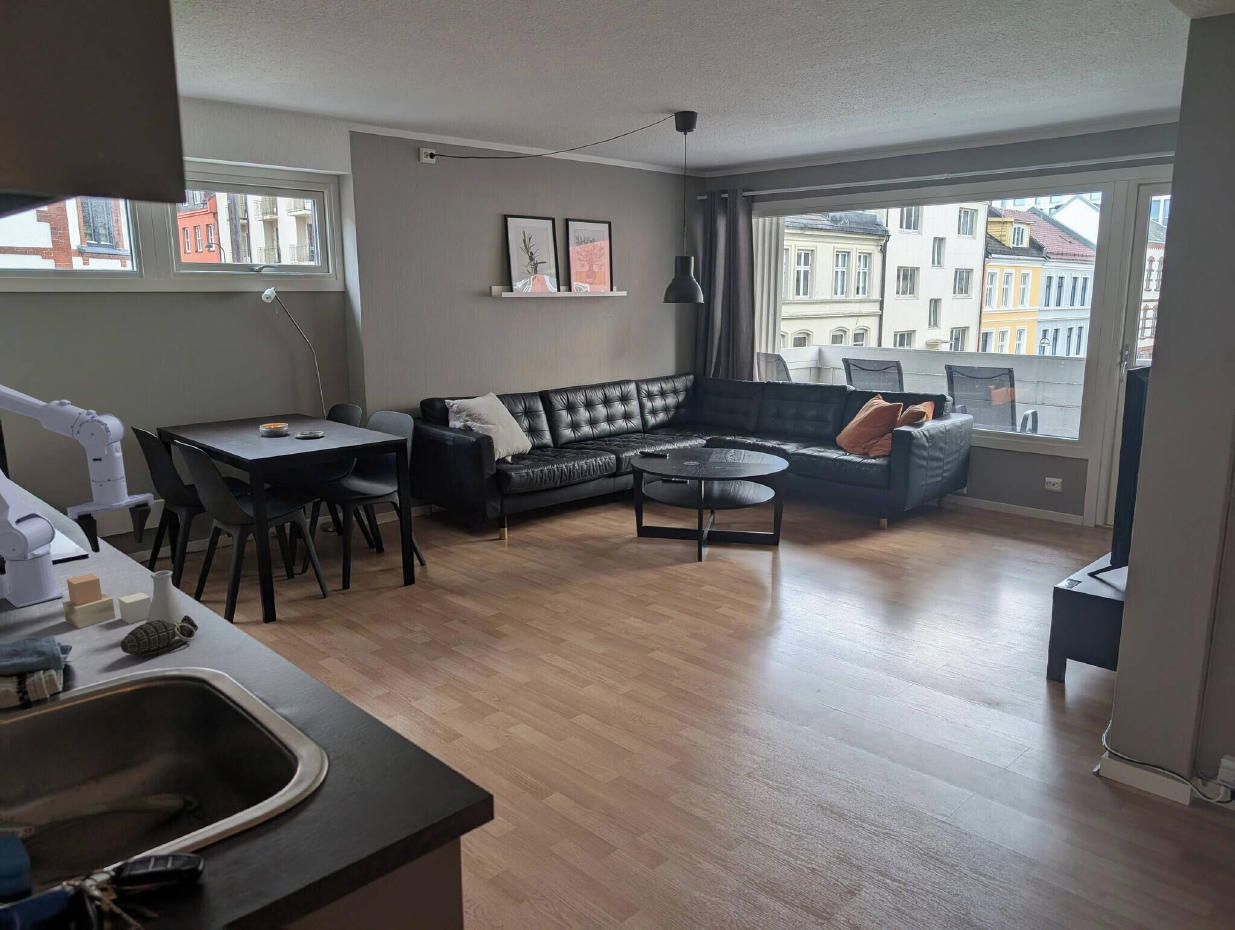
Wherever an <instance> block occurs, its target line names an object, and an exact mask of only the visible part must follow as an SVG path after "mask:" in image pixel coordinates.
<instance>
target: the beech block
mask: <svg viewBox="0 0 1235 930" xmlns="http://www.w3.org/2000/svg"><path fill="white" fill-rule="evenodd" d="M101 595H102V599H101V600H97V601H93V602H89V603H85V604H81V605H76V604H75V603H73V602H72V601H70V599H67V600H63V601H62V607H63V613H64V619H65V620H64V621H65V622H66V623H68V624H70V625H72V626H73V627H76V628H78V629H83V628H87V627H90V626H93V625H96V624H100V623H102V622H103V623H104V622H106V621H110V620H114V619H116V613H115V606H114V598H112V597H111V596H109V595H106V594H104V593H102V592H101Z"/></svg>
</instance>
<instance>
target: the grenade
mask: <svg viewBox="0 0 1235 930" xmlns="http://www.w3.org/2000/svg"><path fill="white" fill-rule="evenodd" d="M198 629H199V626H198V625H197V623H196V622H195V621H194V619H193V618H192V617H191V616H190V615H189V616H187V615H186V616H184V617H183V619H182V620H181V623H176V624H175V623H169V622H166V621H165V620H156V621H150V622H147V623H146V622H144V623H142V624H140V625H138V626H136V627H135V628H134V629H132V630H131V631H130V632H128V633H127V635H125V636H124V638H122V640H121V642H120V649H121V650H122V652H123V653H126V654H127V655H128V654H129V655H134V656H141V657H140V660H142V659H146V658H150V657H154V656H155V657H156V656H158V655H162V654H165V653H168V652H169V651H172V650H174V649H177V648H178V647H180V646H182V645H184V644H186V642H187V643H188V642H192V641H193V640H195V638H196V636H197V633H196V632H197V630H198ZM176 638H178V639H180V640H182V641H180V642H179V643H177V644H176V643H175V644H174V645H173V642H174V641H175V639H176ZM171 645H172V646H171ZM176 647H177V648H176ZM171 649H172V650H171ZM164 652H165V653H164Z"/></svg>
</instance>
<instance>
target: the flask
mask: <svg viewBox="0 0 1235 930" xmlns="http://www.w3.org/2000/svg"><path fill="white" fill-rule="evenodd" d="M172 575H173V571H171V570H158V571H155V572H153V573H152V574H150V578H151V579H152V581H153V582H152V583H153V596H152V598H151V607H150V611H149V614H148V618H147V619H146V622H145V623H147V622H150V621H156V620H165V621H166V622H169V623H175V624H176V623H181V620H182V619H183V617H184V616H186V615H187V616H190V614H189V613H188V611H187V610H186V608H185V606H184V605H183V604H182V602H181V600H180V598H179V596H178V594H177V592H176V590H175V588H174V585H173V582H172Z"/></svg>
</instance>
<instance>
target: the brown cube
mask: <svg viewBox="0 0 1235 930" xmlns="http://www.w3.org/2000/svg"><path fill="white" fill-rule="evenodd" d="M66 582H67V589H68V597H69V600H70V601H72V602H73V603H75V604H76V605H81V604H85V603H89V602H93V601H97V600H101V599H102V595H101V593H102V590H101V589H102V588H101V581H100V577H98V576H96V575H95V574H93V573H90V574H83V575H79V576H74V577H71V578H67V579H66Z"/></svg>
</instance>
